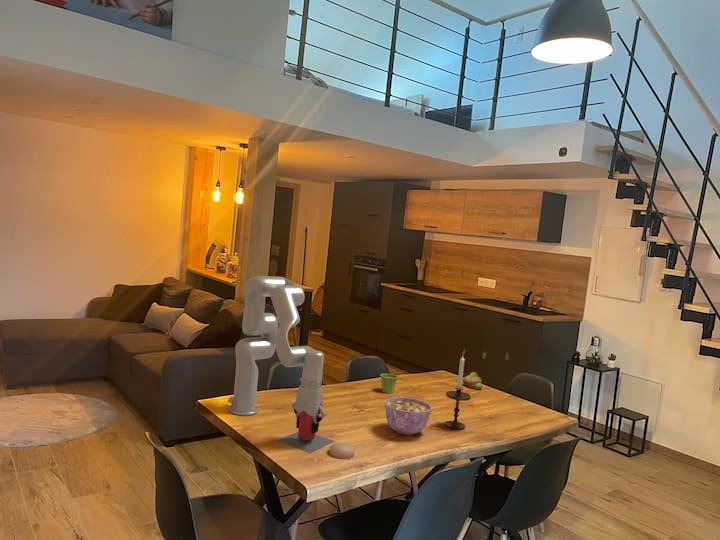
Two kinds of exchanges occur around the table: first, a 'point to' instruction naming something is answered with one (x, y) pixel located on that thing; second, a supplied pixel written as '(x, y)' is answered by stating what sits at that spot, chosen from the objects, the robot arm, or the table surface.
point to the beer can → (305, 426)
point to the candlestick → (457, 399)
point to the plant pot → (388, 382)
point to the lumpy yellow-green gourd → (473, 381)
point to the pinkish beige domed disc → (342, 450)
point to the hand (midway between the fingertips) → (307, 429)
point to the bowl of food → (407, 414)
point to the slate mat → (305, 442)
